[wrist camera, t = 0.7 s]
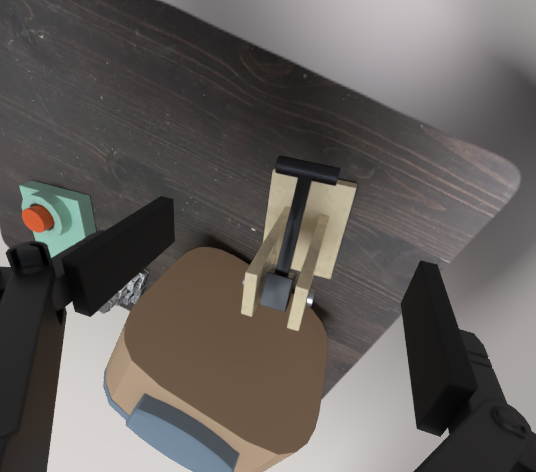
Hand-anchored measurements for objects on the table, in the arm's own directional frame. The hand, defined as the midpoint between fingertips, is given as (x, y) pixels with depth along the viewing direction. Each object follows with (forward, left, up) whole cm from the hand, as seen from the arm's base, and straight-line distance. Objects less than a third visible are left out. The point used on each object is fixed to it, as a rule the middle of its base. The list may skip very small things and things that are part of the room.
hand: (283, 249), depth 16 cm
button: (+15, -37, -16) cm, 43 cm away
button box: (+18, -37, -19) cm, 45 cm away
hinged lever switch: (+8, -1, -19) cm, 21 cm away
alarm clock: (+21, -6, -20) cm, 29 cm away
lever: (+4, -1, -9) cm, 10 cm away
